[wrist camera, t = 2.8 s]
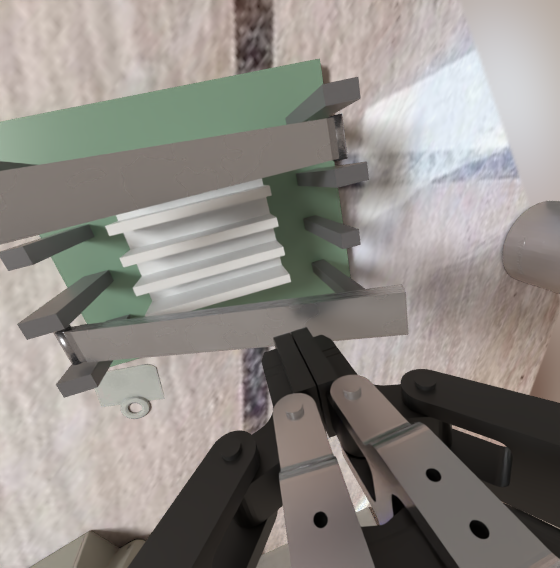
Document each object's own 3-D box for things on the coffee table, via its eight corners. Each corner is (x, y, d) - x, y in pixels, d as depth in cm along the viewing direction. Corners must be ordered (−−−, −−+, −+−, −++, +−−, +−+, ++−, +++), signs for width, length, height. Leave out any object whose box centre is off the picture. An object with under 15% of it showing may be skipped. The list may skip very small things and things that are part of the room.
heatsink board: (315, 63, 23) (378, -11, 14) (348, 290, 30) (403, 334, 22) (-9, 128, 20) (-183, 86, 11) (113, 360, 28) (65, 445, 19)
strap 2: (401, 282, 13) (405, 290, 13) (404, 326, 14) (408, 336, 14) (62, 325, 18) (49, 333, 17) (80, 356, 19) (68, 365, 18)
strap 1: (334, 117, 18) (345, 113, 17) (339, 159, 18) (350, 157, 18) (-162, 197, 8) (-185, 196, 8) (-104, 273, 9) (-120, 278, 9)
